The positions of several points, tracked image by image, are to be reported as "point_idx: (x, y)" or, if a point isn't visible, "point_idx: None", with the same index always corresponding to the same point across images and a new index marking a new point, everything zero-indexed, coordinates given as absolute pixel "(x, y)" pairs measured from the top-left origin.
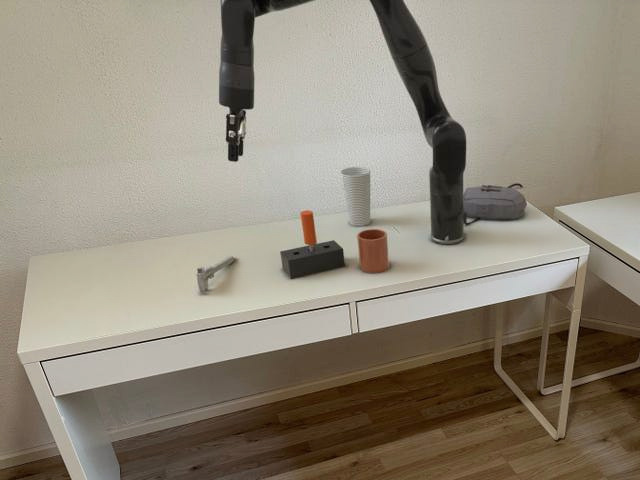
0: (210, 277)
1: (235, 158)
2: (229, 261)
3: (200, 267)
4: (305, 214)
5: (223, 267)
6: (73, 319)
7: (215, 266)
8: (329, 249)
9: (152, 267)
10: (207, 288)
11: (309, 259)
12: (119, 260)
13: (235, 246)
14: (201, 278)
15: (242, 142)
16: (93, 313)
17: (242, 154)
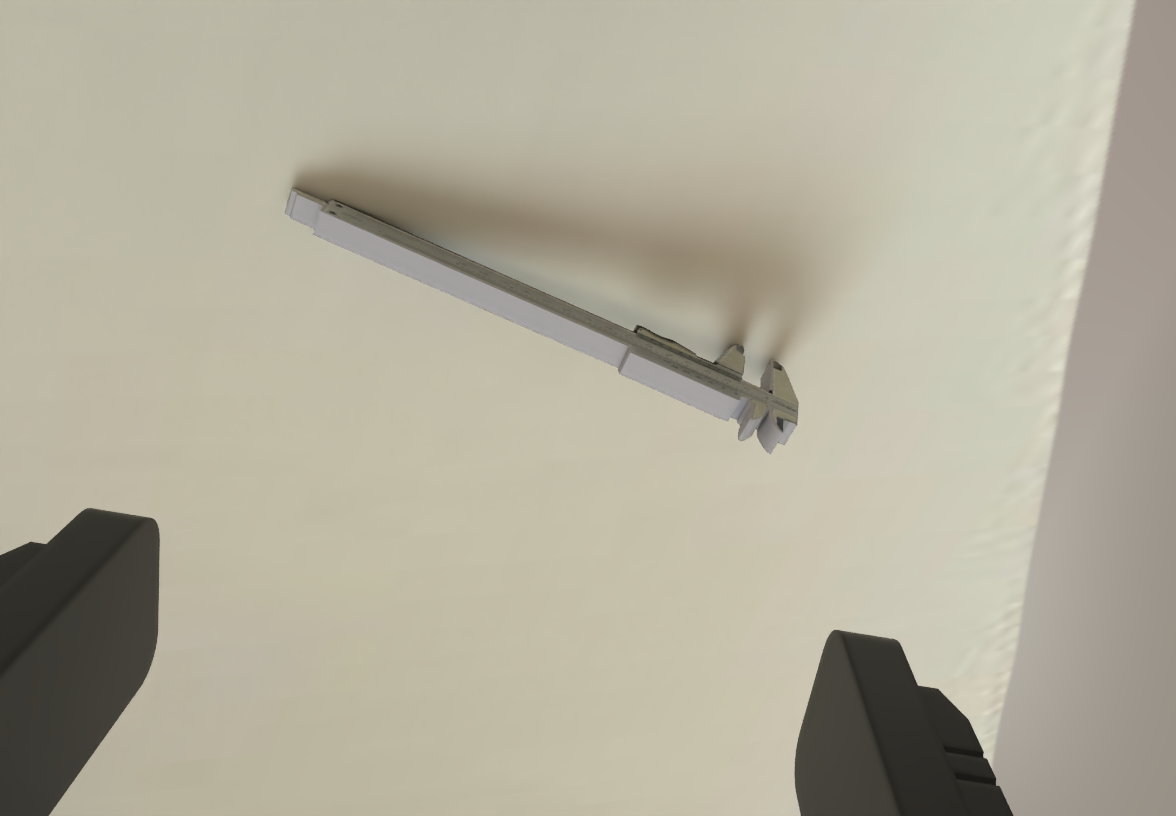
0: (683, 349)
1: (950, 710)
2: (390, 233)
3: (745, 435)
4: None
5: (495, 271)
6: (793, 794)
7: (590, 332)
8: None
9: (325, 606)
10: (736, 350)
11: None
12: (201, 736)
13: (41, 181)
14: (794, 409)
15: (9, 680)
16: (770, 748)
17: (140, 525)
